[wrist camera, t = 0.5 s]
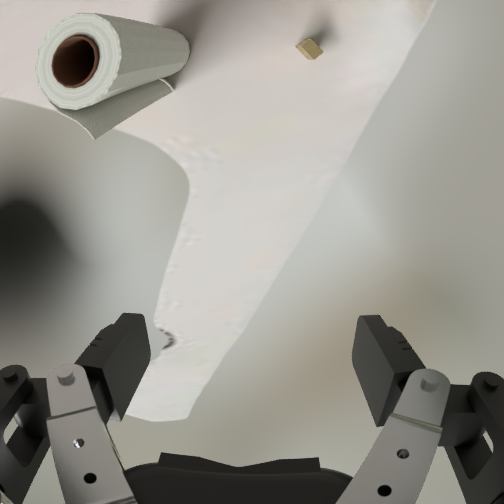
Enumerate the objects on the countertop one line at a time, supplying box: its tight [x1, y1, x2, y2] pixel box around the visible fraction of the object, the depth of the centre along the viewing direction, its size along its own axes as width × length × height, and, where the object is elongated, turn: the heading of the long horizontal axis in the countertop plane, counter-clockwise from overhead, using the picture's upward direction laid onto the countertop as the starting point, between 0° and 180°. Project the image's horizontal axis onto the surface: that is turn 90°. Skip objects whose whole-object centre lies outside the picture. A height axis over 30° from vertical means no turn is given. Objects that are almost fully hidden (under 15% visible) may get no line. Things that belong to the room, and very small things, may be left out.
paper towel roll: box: [36, 13, 190, 140], centre depth 22 cm, size 7×6×21 cm
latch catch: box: [296, 38, 323, 60], centre depth 28 cm, size 2×1×4 cm
